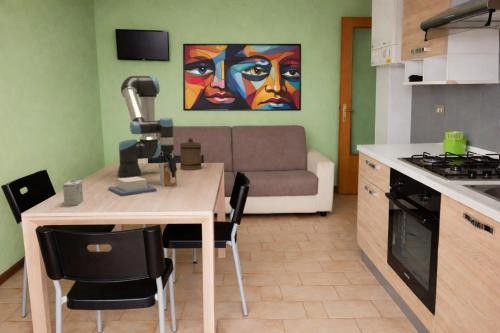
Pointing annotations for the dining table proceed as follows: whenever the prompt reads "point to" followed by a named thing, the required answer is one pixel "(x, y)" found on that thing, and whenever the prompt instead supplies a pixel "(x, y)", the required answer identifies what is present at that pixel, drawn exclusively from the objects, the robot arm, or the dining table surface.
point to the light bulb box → (73, 192)
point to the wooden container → (190, 155)
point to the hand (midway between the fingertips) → (168, 181)
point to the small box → (165, 174)
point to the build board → (124, 193)
